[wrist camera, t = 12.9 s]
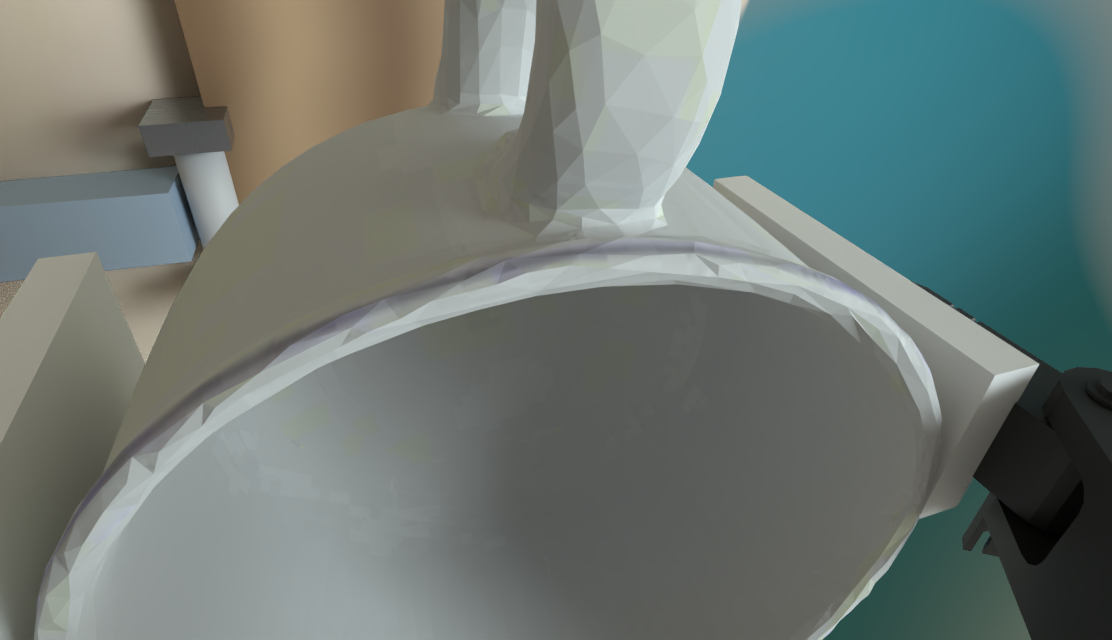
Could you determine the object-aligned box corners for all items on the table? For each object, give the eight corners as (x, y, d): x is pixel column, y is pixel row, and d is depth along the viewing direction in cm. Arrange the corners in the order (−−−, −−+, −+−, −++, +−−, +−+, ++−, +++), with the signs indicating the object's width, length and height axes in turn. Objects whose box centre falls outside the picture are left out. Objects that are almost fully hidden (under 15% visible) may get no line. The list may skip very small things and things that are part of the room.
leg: (227, 135, 23) (218, 160, 21) (257, 247, 26) (252, 279, 24) (-178, 160, 20) (-234, 192, 18) (-98, 285, 23) (-139, 325, 21)
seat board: (248, 241, 26) (246, 257, 24) (158, -83, 19) (151, -81, 18) (511, 209, 29) (520, 222, 28) (507, -77, 22) (518, -75, 21)
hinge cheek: (162, 128, 22) (149, 157, 20) (153, 99, 22) (138, 125, 19) (237, 123, 23) (232, 150, 21) (229, 94, 22) (223, 119, 20)
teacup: (590, 471, 19) (741, 763, 13) (163, 496, 14) (71, 976, 8) (801, -57, 12) (1337, 13, 6) (131, -325, 8) (-530, -1208, 1)
